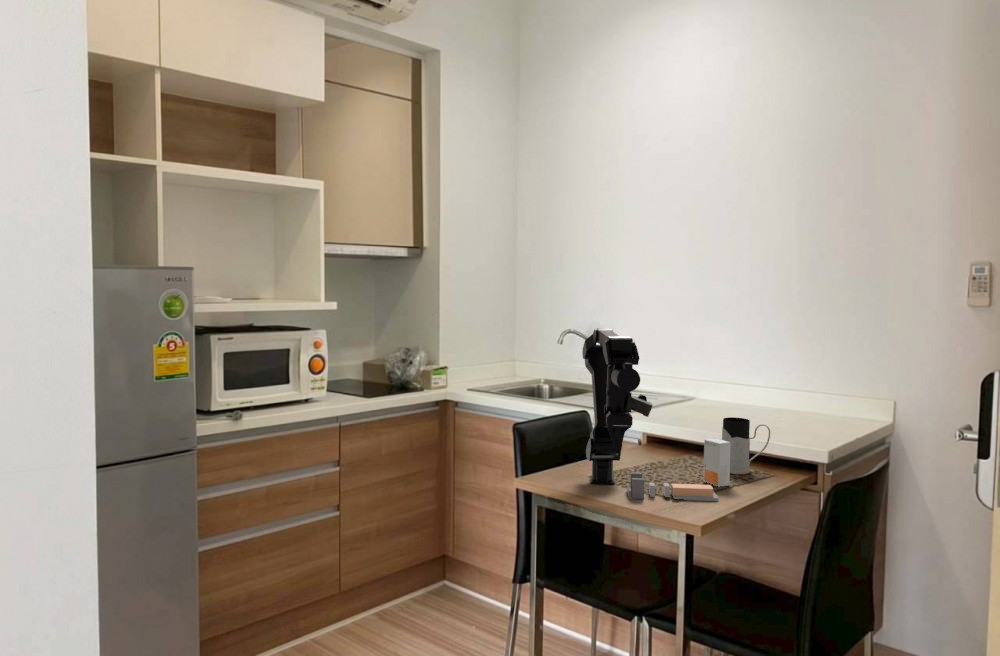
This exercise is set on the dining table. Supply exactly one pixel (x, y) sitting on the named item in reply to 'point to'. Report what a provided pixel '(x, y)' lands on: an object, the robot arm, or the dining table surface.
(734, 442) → the grey mug
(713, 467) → the skincare box
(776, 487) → the dining table surface
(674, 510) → the dining table surface
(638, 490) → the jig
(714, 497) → the mat
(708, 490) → the bar
